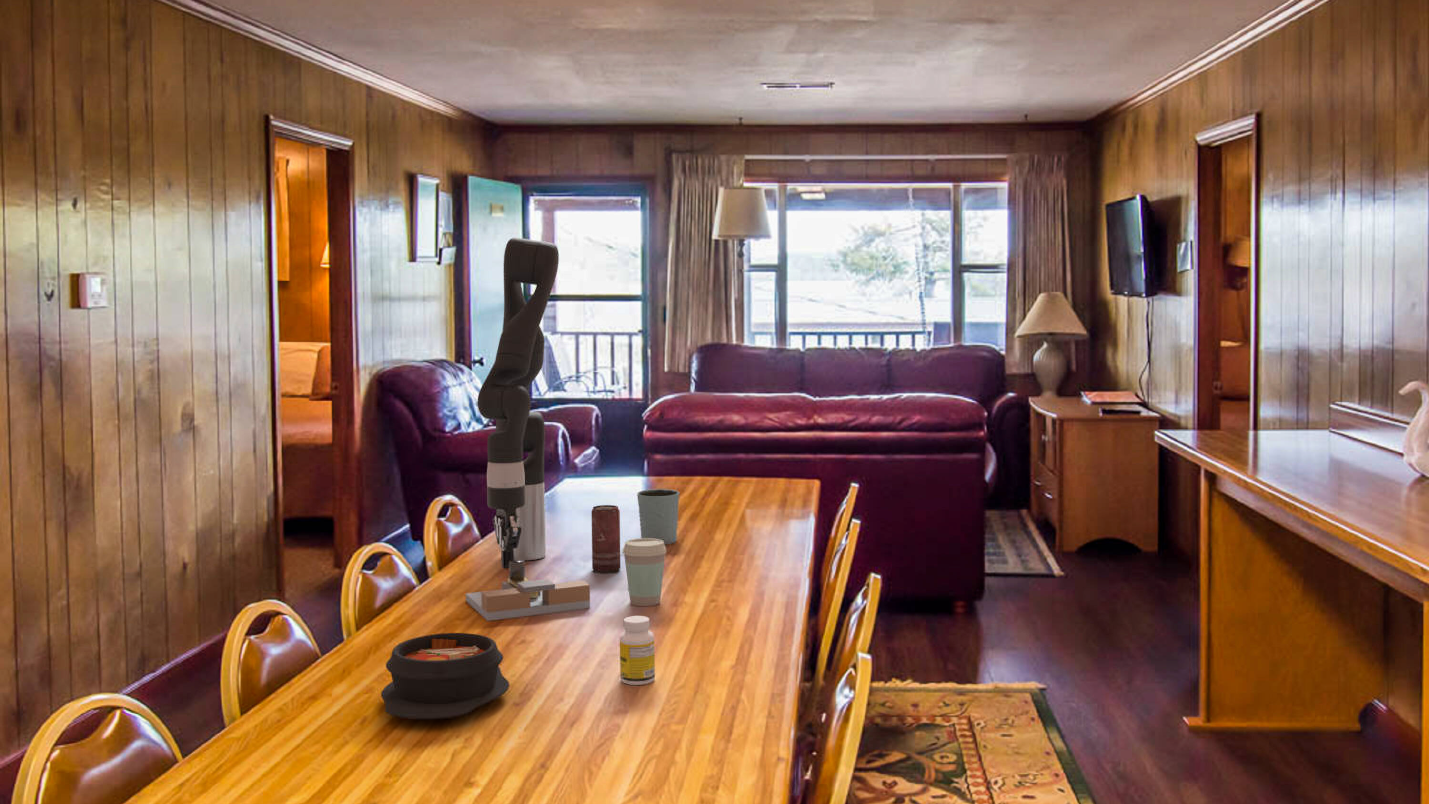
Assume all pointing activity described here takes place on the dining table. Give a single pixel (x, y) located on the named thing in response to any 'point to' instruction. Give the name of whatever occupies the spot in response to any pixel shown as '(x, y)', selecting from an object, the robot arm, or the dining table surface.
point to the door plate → (530, 599)
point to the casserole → (443, 676)
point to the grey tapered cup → (658, 514)
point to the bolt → (518, 575)
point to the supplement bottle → (637, 652)
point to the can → (605, 539)
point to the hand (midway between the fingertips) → (507, 567)
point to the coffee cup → (644, 570)
